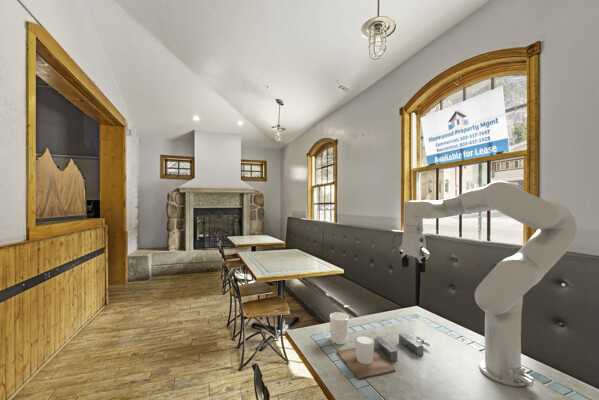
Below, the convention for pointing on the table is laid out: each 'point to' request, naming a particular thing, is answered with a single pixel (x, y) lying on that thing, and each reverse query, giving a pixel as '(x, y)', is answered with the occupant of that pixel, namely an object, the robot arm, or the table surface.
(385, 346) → the vise
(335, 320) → the white cup
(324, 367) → the table surface
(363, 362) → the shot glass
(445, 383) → the table surface
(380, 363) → the serving board
